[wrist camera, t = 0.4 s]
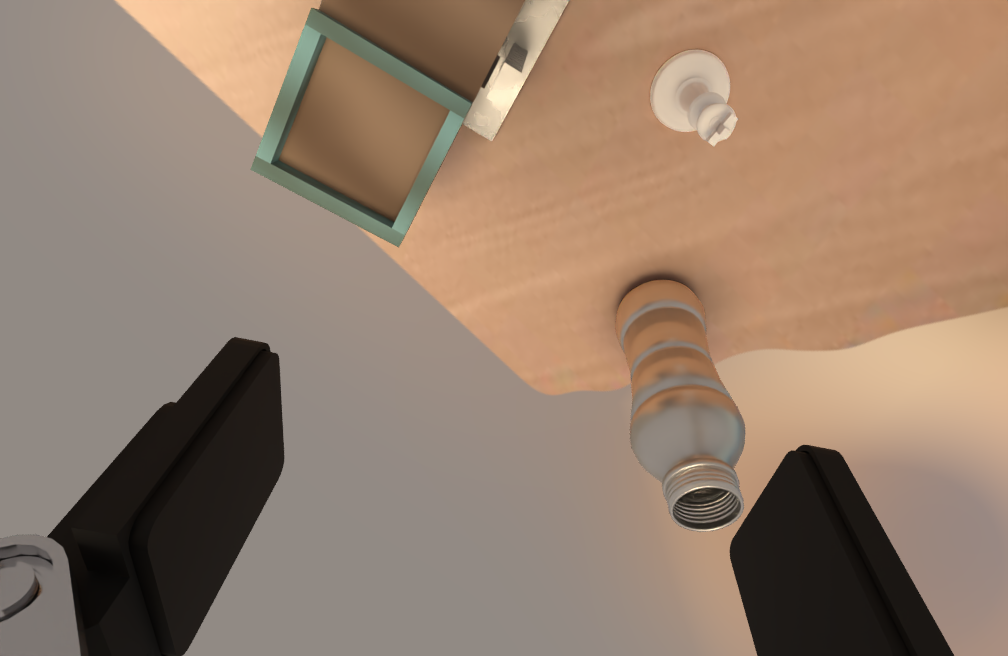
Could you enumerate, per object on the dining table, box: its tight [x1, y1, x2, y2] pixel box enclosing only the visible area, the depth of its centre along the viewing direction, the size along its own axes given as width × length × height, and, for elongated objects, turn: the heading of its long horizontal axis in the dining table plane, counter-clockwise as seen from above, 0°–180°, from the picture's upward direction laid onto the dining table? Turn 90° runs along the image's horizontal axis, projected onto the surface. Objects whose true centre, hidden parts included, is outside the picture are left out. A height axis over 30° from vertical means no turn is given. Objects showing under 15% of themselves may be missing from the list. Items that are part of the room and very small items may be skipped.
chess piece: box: [650, 50, 738, 146], centre depth 33 cm, size 5×5×10 cm
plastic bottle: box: [615, 280, 745, 532], centre depth 38 cm, size 6×7×20 cm
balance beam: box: [251, 0, 525, 247], centre depth 29 cm, size 21×9×4 cm, turn 151°
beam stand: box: [321, 0, 569, 141], centre depth 32 cm, size 10×13×8 cm
